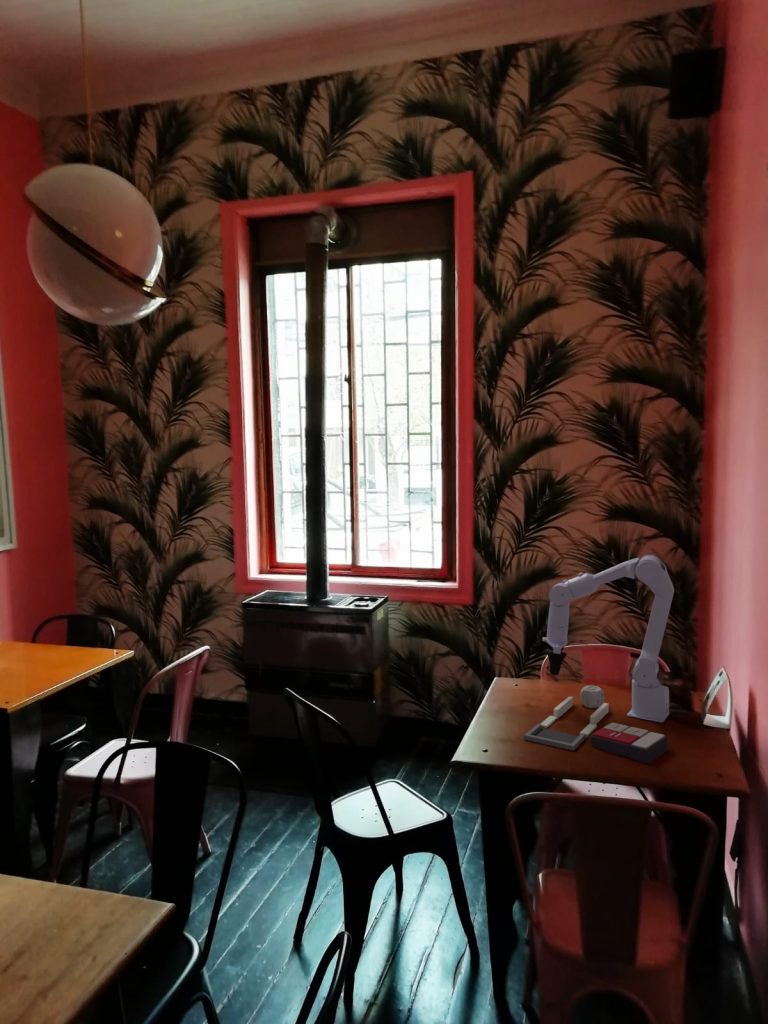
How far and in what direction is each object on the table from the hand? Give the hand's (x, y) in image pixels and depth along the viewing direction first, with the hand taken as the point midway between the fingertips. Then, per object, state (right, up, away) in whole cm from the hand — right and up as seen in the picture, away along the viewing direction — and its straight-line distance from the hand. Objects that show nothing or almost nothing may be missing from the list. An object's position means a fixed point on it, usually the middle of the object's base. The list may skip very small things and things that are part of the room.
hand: (554, 670), depth 206 cm
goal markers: (0, -11, -17) cm, 20 cm away
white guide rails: (+6, -11, -8) cm, 15 cm away
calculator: (+11, -13, -30) cm, 35 cm away
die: (+11, -10, -1) cm, 15 cm away
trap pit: (-5, -12, -24) cm, 27 cm away
